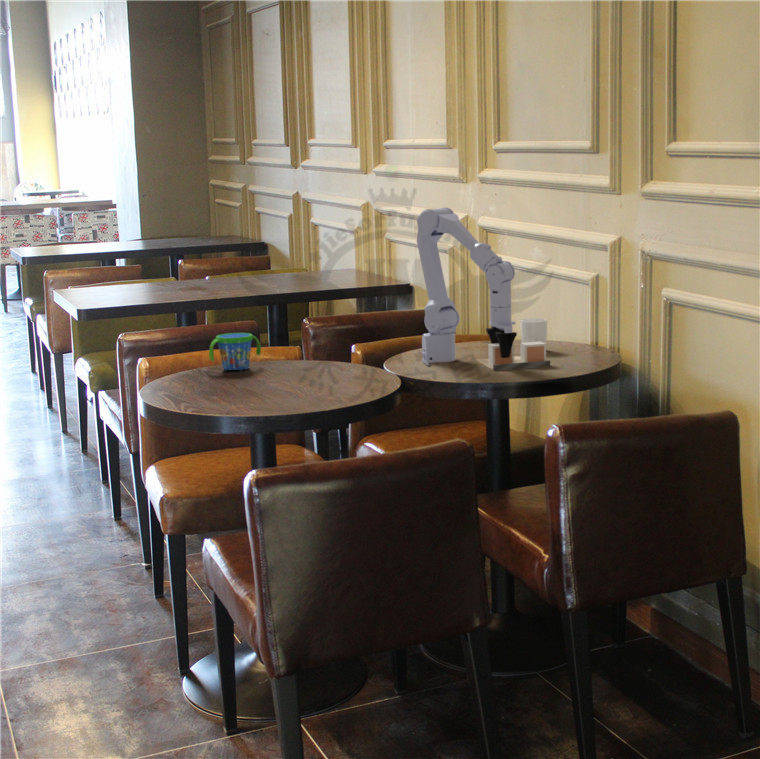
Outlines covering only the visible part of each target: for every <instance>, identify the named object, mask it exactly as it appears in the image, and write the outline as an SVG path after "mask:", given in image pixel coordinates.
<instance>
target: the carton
mask: <svg viewBox="0 0 760 759" xmlns="http://www.w3.org/2000/svg"><path fill="white" fill-rule="evenodd" d="M514 346H515V345H514V343H513V344H512V348H511V353H510V357H509V358H502V357H501V353H500V346H499V343H494V344H491V343H488V347H487V348H488V358H489V366H491V367H493V365H497V364H510V363H514V355H515V353H514V352H515V347H514Z"/></svg>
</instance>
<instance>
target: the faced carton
mask: <svg viewBox="0 0 760 759" xmlns="http://www.w3.org/2000/svg"><path fill="white" fill-rule="evenodd" d="M519 344H520V345H519V346H520V347H519V348H520V356H521V363H524V362H537V361H547V342H546V343H543V342H527V343H522V342H520V343H519Z"/></svg>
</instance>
